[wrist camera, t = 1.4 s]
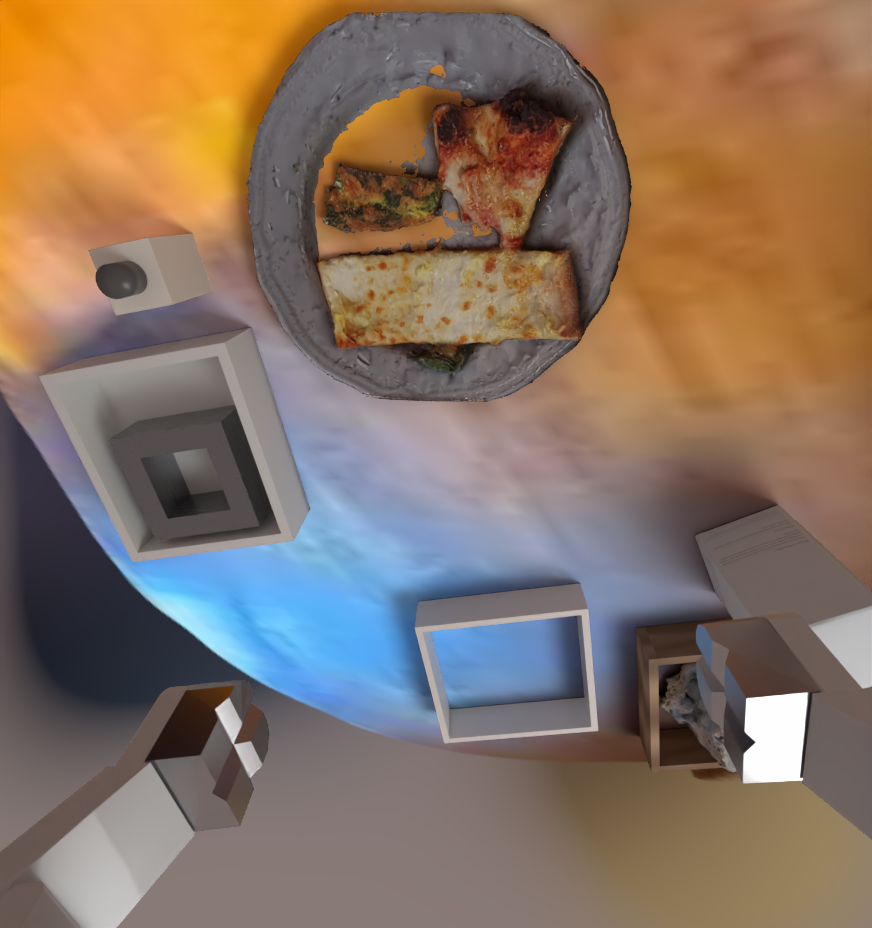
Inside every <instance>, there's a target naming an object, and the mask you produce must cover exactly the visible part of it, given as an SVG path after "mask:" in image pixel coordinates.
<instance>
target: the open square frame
mask: <svg viewBox="0 0 872 928" xmlns="http://www.w3.org/2000/svg"><path fill="white" fill-rule="evenodd" d="M568 616H577V625H578V636H579V646H580V657H581V667H582V678H583V689H584V698H573V699H561V700H550V701H539V702H528V703H516V704H505V705H494V706H483V707H471V708H460V709H450V707H449V702H448V698H447V694H446V690H445V686H444V682H443V678H442V673H441V669H440V665H439V661H438V657H437V653H436V649H435V645H434V640H433V636H432V632H431V631H437V630H447V629H456V628H465V627H475V626H484V625H493V624H503V623H512V622H521V621H531V620H540V619H549V618H559V617H568ZM415 631H416V635H417V639H418V643H419V646H420V650H421V654H422V658H423V662H424V666H425V670H426V674H427V678H428V681H429V685H430V689H431V693H432V697H433V701H434V705H435V709H436V712H437V716H438V720H439V724H440V728H441V732H442V736H443V740H444V743H453V742H466V741H478V740H491V739H503V738H515V737H528V736H540V735H552V734H565V733H577V732H589V731H598V723H597V711H596V699H595V686H594V674H593V662H592V650H591V638H590V625H589V613H588V607H587V603H586V600H585V597H584V594H583V590H582V587H581V584H580V583H578V584H569V585H560V586H551V587H543V588H534V589H525V590H516V591H507V592H499V593H490V594H481V595H472V596H464V597H455V598H446V599H437V600H429V601H420V602H418V604H417V612H416V621H415Z"/></svg>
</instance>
